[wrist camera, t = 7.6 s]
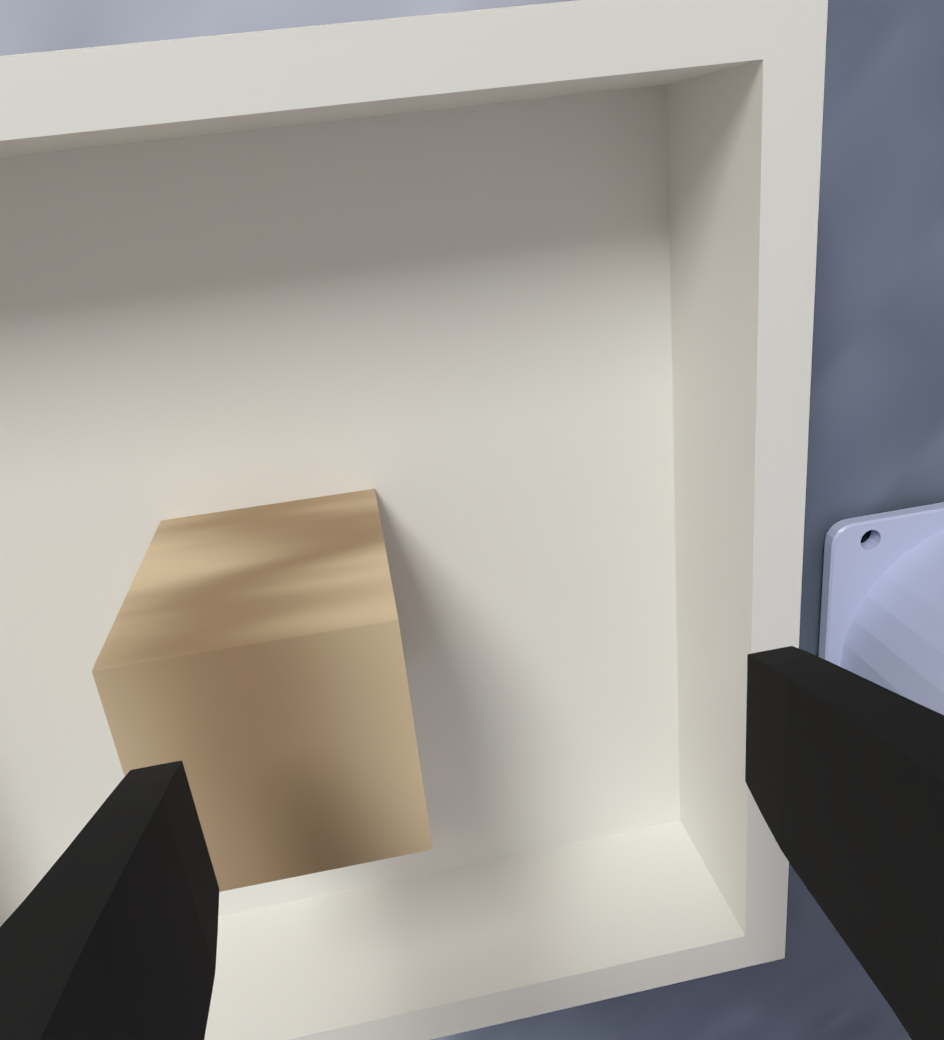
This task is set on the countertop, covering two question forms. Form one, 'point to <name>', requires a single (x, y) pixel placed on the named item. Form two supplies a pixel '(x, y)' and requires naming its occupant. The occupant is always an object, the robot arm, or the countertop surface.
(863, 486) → the countertop surface
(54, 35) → the countertop surface
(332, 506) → the maple block
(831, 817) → the robot arm
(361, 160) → the bin
